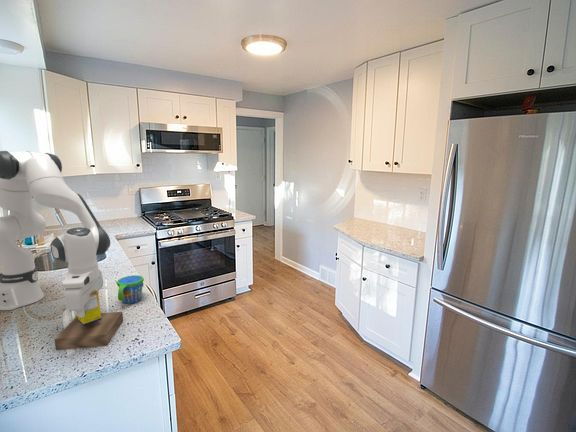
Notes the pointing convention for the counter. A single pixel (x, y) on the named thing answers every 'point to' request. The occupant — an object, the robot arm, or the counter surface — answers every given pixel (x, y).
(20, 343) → the counter surface
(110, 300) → the counter surface
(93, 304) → the supplement box
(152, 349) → the counter surface
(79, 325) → the walnut plinth
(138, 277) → the snack cup
